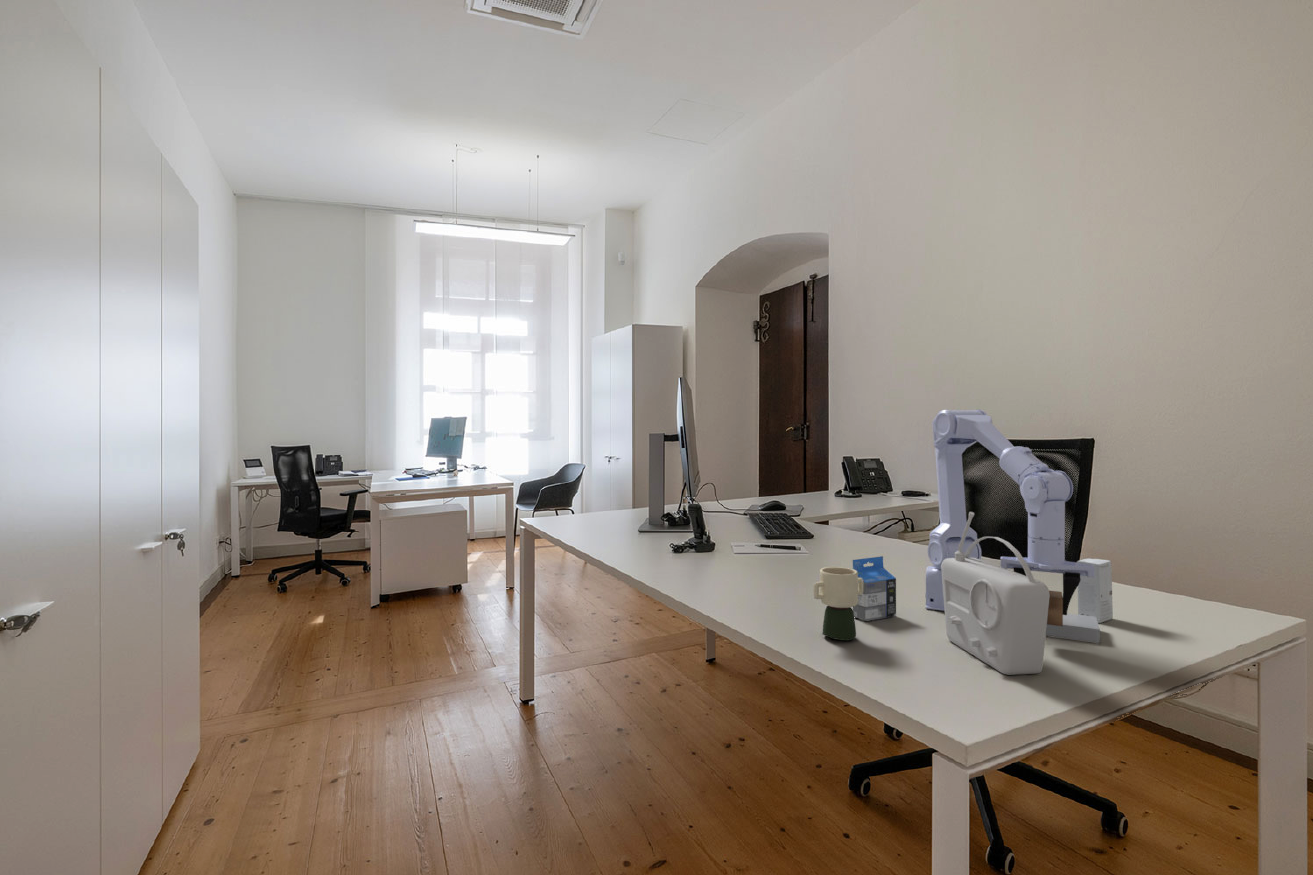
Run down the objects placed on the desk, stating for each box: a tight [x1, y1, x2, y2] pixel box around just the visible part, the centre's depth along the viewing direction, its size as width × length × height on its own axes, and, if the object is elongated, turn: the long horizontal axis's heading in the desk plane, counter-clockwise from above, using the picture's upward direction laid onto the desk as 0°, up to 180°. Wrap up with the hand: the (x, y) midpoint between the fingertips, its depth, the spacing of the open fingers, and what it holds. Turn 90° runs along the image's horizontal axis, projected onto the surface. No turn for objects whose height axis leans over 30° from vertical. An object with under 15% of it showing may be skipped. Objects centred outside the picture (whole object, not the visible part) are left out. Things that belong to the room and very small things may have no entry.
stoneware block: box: [1046, 612, 1101, 644], centre depth 121 cm, size 9×9×3 cm
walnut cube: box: [1047, 590, 1063, 626], centre depth 114 cm, size 5×5×5 cm
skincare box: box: [1076, 557, 1114, 624], centre depth 130 cm, size 6×4×12 cm
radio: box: [941, 511, 1050, 676], centre depth 109 cm, size 22×8×25 cm, turn 4°
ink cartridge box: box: [852, 555, 897, 622], centre depth 132 cm, size 9×4×12 cm, turn 115°
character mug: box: [813, 566, 863, 641], centre depth 119 cm, size 11×7×13 cm, turn 108°
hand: (1045, 611), depth 114 cm, fingers closed on walnut cube, 5 cm apart
